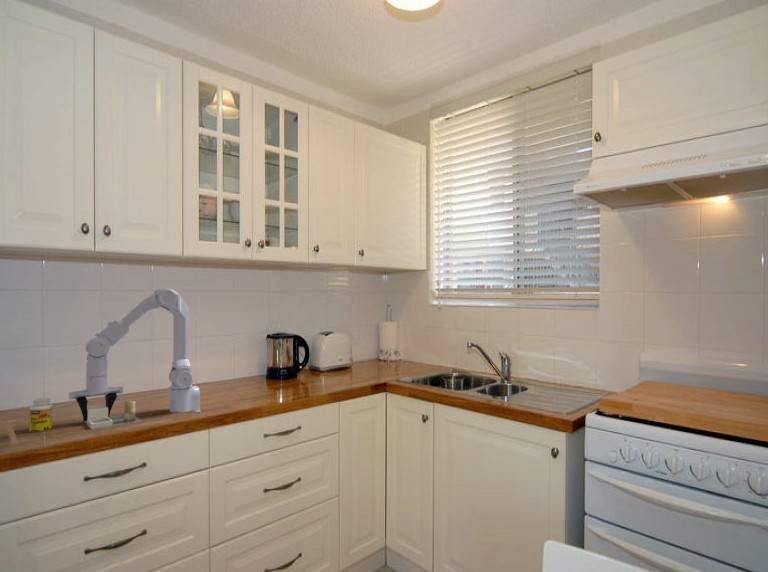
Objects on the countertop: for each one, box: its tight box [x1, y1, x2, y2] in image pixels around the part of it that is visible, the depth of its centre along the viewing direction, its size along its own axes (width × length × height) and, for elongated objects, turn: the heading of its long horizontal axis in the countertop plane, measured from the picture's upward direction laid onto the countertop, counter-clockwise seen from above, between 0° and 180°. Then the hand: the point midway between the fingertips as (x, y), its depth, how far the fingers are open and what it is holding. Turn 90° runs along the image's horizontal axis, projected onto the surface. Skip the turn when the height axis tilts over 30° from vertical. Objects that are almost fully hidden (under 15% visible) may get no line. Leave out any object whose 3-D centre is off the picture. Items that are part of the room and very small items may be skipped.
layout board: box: [83, 414, 143, 431], centre depth 145 cm, size 14×13×4 cm
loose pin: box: [123, 400, 136, 422], centre depth 146 cm, size 3×3×6 cm
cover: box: [85, 404, 108, 424], centre depth 145 cm, size 5×5×4 cm
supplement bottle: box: [28, 397, 54, 433], centre depth 137 cm, size 6×6×10 cm
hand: (96, 418), depth 145 cm, fingers closed on cover, 5 cm apart
